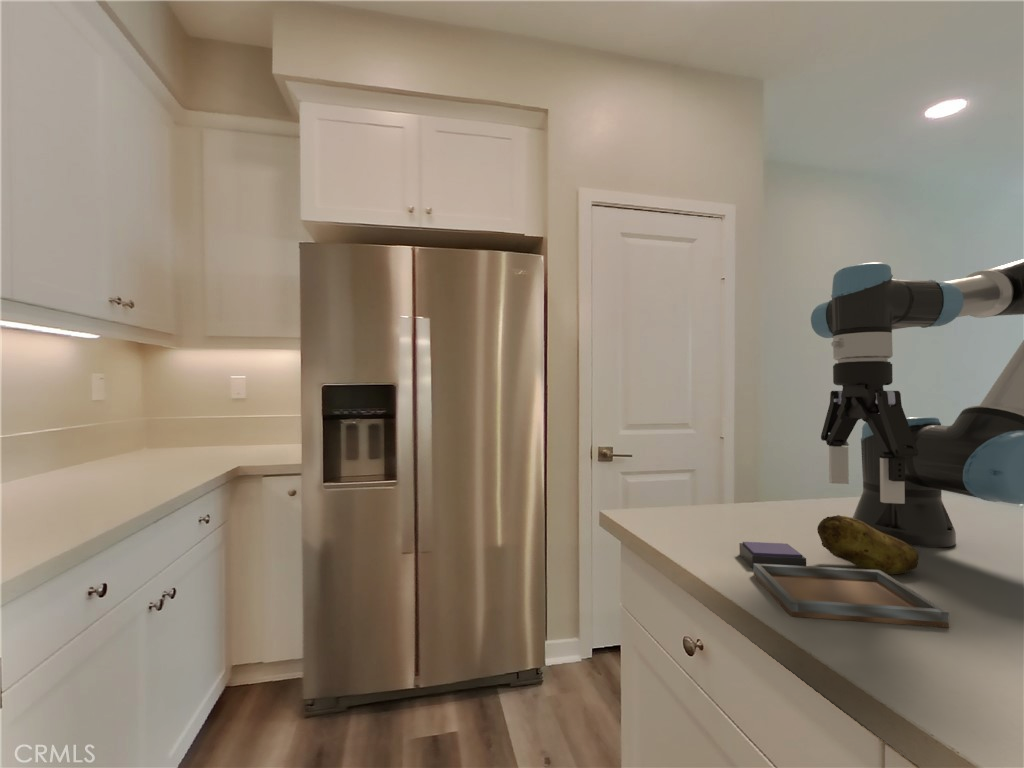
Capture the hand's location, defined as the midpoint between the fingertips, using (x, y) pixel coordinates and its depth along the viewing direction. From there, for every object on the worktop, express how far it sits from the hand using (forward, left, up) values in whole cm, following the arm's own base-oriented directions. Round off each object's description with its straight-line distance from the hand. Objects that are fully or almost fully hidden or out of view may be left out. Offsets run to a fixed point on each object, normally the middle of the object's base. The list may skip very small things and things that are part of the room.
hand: (863, 492), depth 70 cm
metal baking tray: (+10, +11, -12) cm, 19 cm away
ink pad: (+14, -1, -12) cm, 18 cm away
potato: (0, 0, -13) cm, 13 cm away
